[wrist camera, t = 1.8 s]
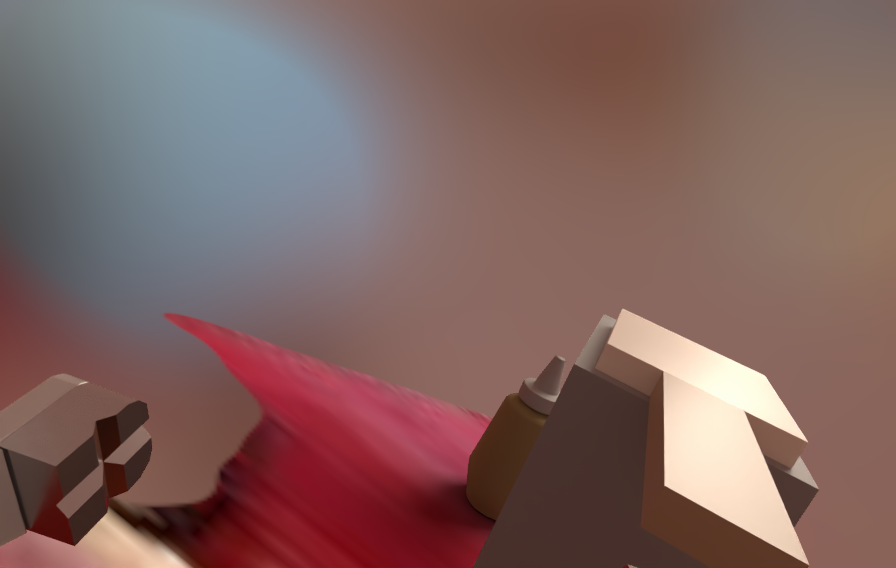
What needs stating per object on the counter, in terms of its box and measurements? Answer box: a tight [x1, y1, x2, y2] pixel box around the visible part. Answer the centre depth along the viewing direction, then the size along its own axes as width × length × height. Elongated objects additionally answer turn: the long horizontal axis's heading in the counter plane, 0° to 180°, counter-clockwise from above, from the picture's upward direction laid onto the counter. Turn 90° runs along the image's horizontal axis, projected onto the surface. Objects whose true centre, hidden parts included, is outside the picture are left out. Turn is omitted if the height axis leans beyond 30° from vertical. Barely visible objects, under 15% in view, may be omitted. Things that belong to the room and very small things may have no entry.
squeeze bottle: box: [466, 356, 566, 520], centre depth 59 cm, size 8×8×18 cm
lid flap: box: [595, 309, 809, 568], centre depth 27 cm, size 10×25×2 cm, turn 157°
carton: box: [473, 314, 819, 568], centre depth 38 cm, size 12×16×26 cm
